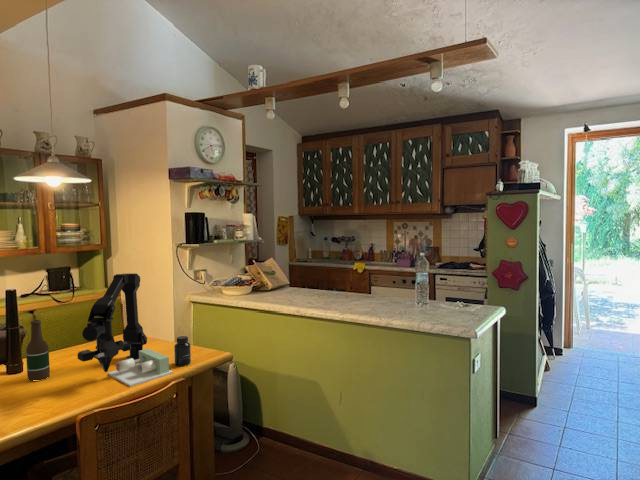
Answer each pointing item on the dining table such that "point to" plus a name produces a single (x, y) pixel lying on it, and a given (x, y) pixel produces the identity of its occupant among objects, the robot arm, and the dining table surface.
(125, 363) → the knob
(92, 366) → the dining table surface
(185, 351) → the supplement bottle
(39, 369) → the beer bottle
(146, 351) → the mount
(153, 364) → the knob
